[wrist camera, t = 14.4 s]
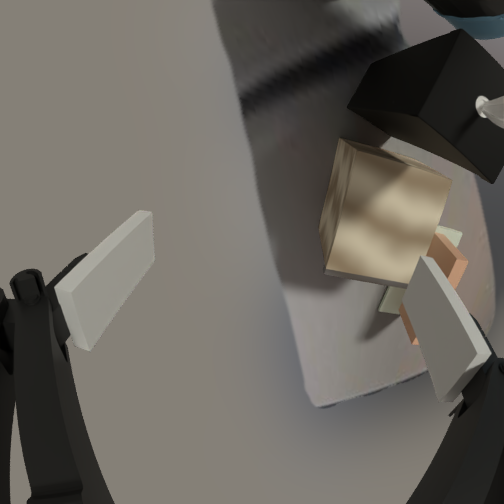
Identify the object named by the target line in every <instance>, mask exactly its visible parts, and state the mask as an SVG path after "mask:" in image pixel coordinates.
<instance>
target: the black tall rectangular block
mask: <svg viewBox="0 0 504 504" xmlns="http://www.w3.org/2000/svg"><path fill="white" fill-rule="evenodd" d="M347 108H348V109H350V110H352V111H353V112H355V113H356V114H358V115H360V116H361V117H363V118H364V119H366V120H368V121H369V122H371V123H372V124H374V125H375V126H377V127H378V128H380V129H381V130H383V131H384V132H386V133H387V134H389V135H390V136H392V137H394V138H397V139H399V140H402V141H405V142H407V143H410V144H412V145H414V146H417V147H419V148H422V149H424V150H426V151H429V152H431V153H433V154H435V155H438V156H440V157H442V158H444V159H446V160H449V161H451V162H453V163H455V164H457V165H459V166H461V167H463V168H465V169H467V170H469V171H471V172H473V173H475V174H477V175H479V176H480V177H481V178H482V179H484V180H486V181H487V182H489V183H491V184H493V183H494V182H495V180H496V179H497V177H498V175H499V173H500V171H501V169H502V168H503V166H504V69H503V68H502V67H501V65H500V64H498V62H497V61H496V60H495V59H494V58H493V57H492V56H491V55H490V54H489V53H488V52H487V51H486V50H485V49H484V48H483V47H482V46H481V45H480V44H479V43H478V42H477V41H476V40H475V39H474V38H473V37H471V36H470V35H469V34H468V33H467V32H466V31H465V30H464V29H461V28H460V29H457V30H454V31H451V32H450V33H448V34H445V35H442V36H439V37H436V38H433V39H431V40H428V41H425V42H423V43H420V44H417V45H415V46H412V47H410V48H407V49H405V50H402V51H400V52H397V53H395V54H393V55H390V56H388V57H386V58H383V59H381V60H379V61H376V62H374V63H372V64H371V65H370V67H369V69H368V70H367V72H366V74H365V76H364V78H363V79H362V81H361V83H360V85H359V87H358V88H357V90H356V92H355V94H354V95H353V97H352V99H351V101H350V103H349V104H348V106H347Z"/></svg>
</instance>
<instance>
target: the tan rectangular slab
mask: <svg viewBox="0 0 504 504" xmlns="http://www.w3.org/2000/svg"><path fill="white" fill-rule="evenodd" d="M426 256H427V257H432V258H433V259H434V260H435V262H436V263H437V265H438V266H439V268H440V269H441V270H442V272H443V273H444V275H445V276H446V278H447V279H448V281H449V282H450V284H451V285H452V287H453V288H454V290H455V289H456V287H457V285H458V283H459V281H460V279H461V277H462V275H463V273H464V271H465V269H466V266H467V264H468V260H467V259H466V258H465V257H464V256H463V255H462V254H461V252H460V251H459V250H458V249H457V248H456V247H455V246H454V245H453V244H452V243H451V241H450V240H449V239H448V238H447V237H446V236H445V235H444V234H440V233H437V232H435V234H434V236H433V239H432V242H431V244H430V247H429V249H428V252H427V254H426ZM399 313H400V315H401V317H402V320H403V323H404V325H405V328H406V330H407V333H408V335H409V338H410V341H411V344H414V345H419V343H418V340H417V337H416V335H415V332H414V329H413V327H412V324H411V322H410V319H409V317H408V314H407V312H406V310H405V307H404V305H403V302H402V304H401V306H400V308H399Z"/></svg>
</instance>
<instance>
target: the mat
mask: <svg viewBox="0 0 504 504" xmlns="http://www.w3.org/2000/svg"><path fill="white" fill-rule="evenodd" d="M435 232H437V233H440V234H444V235H445V236H446V237H447V238H448V239H449V240H450V241H451V243H452V244H453V245H454V246H455V247H456V248H457V246H458V244H459V241H460V239H461V236H462V233H461V232H460V231H457V230H453V229H450V228H447V227H443V226H440V225H438V226H437V228H436V231H435ZM405 291H406V289H403V288H398V287H392V286H388V288H387V290H386V293H385V295H384V297H383V299H382V302H381V304H380V306H379V308H378V310H379V312H386V313H393V314H400V313H399V308H400V306H401V304H402V298H403V296H404V294H405Z"/></svg>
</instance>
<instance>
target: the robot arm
mask: <svg viewBox="0 0 504 504" xmlns="http://www.w3.org/2000/svg"><path fill="white" fill-rule="evenodd" d="M424 1H425V2H427V3H428V4H429V5H430V6H431V7H432V8H433V10H434V11H435V12H436V13H437V14H438V15H440V16H442V17H444V18H445V19H446V20H447V21H448V22H449V23H451V24H452V25H453V26H454V27H455V28H456V29H460V28H461V29H464V30H465V31H466V32H467V33H468V34H469V35H470V36H471V37H473V38H474V39H480V40H488V39H495V38H500V37H504V0H424ZM154 261H155V256H154V238H153V212H149V211H142V210H138V211H137V212H136V213H134V214H133V215H132V216H131V217H130V218H129V219H127V220H126V221H125V222H124V223H123V224H122V225H120V226H119V227H118V228H117V229H116V230H115V231H113V232H112V233H111V234H110V235H109V236H108V237H107V238H105V239H104V240H103V241H102V242H101V243H100V244H99V245H98V246H97V247H96V248H94V249H93V250H92V251H91V252H90V253H89V254H87V253H85V254H83V255H81V256H79V257H77V258H75V259H74V260H73V261H72V262H71V263H70V264H69V265H68V267H67V266H66V267H65V268H64V269H63V270H62V272H60V273H59V274H58V275H57V276H56V277H55V278H54V279H53V280H52V281H51V282H50V283H49V284H48V285H47V286H46V287H45V284H44V280H43V277H42V273H41V272H40V271H39V270H37V269H26V270H23V271H21V272H19V273H17V274H16V275H15V276H14V277H13V278H12V279H11V281H10V286H11V289H12V292H13V295H14V297H15V299H6V296H5V294H4V291H3V289H1V288H0V504H11V503H10V448H11V435H12V424H13V415H14V407H15V401H16V409H17V417H18V426H19V434H20V440H21V446H22V452H23V457H24V462H25V466H26V471H27V475H28V479H29V483H30V487H31V492H32V493H31V497H30V498H29V499H28V500H27V504H115V503H114V501H113V499H112V497H111V495H110V493H109V490H108V488H107V485H106V483H105V480H104V478H103V476H102V473H101V470H100V468H99V465H98V462H97V460H96V457H95V454H94V451H93V449H92V445H91V442H90V439H89V436H88V433H87V430H86V426H85V423H84V419H83V416H82V412H81V408H80V404H79V400H78V396H77V392H76V388H75V383H74V379H73V375H72V369H71V364H70V358H69V353H68V347H67V345H66V343H65V342H66V340H67V339H68V337H69V336H71V338H72V341H73V344H74V346H75V347H79V348H81V349H83V350H86V351H89V352H90V351H91V350H92V349H93V347H94V346H95V344H96V343H97V341H98V340H99V338H100V336H101V335H102V334H103V332H104V331H105V329H106V328H107V326H108V325H109V324H110V322H111V320H112V319H113V318H114V316H115V315H116V314H117V312H118V311H119V309H120V308H121V306H122V305H123V304H124V302H125V301H126V299H127V298H128V297H129V295H130V294H131V292H132V291H133V290H134V288H135V287H136V286H137V284H138V283H139V282H140V280H141V279H142V277H143V276H144V275H145V273H146V272H147V271H148V269H149V268H150V267H151V265H152V264H153V263H154ZM402 302H403V305H404V307H405V310H406V312H407V314H408V317H409V319H410V322H411V324H412V327H413V329H414V332H415V335H416V337H417V340H418V343H419V345H420V348H421V351H422V353H423V356H424V359H425V362H426V365H427V368H428V371H429V374H430V377H431V380H432V383H433V386H434V389H435V392H436V395H437V399H438V402H439V403H442V402H453V401H454V400H455V399H456V398H457V396H458V395H459V394H460V393H461V392H462V395H463V397H464V399H463V400H462V401H461V402H460V403H459V404H458V405H457V406H456V407H455V409H454V410H453V411H452V412H451V413H450V414H449V416H452V414H453V413H455V415H454V417H453V419H452V422H451V424H450V426H449V428H448V431H447V433H446V435H445V437H444V439H443V441H442V443H441V445H440V447H439V449H438V451H437V453H436V455H435V456H434V458H433V460H432V462H431V464H430V466H429V467H428V469H427V471H426V473H425V474H424V476H423V478H422V480H421V481H420V483H419V484H418V486H417V488H416V489H415V491H414V492H413V494H412V495H411V497H410V498H409V500H408V501H407V503H406V504H504V358H497V356H496V354H495V352H494V350H493V348H492V346H491V344H490V343H489V341H488V339H487V337H485V334H484V332H483V330H481V329H482V328H481V327H480V325H479V323H478V321H477V320H476V319H475V318H474V317H473V316H472V315H471V314H470V313H469V312H468V311H467V309H466V307H465V306H464V304H463V302H462V301H461V299H460V298H459V296H458V295H457V293H456V291H455V290H454V288H453V287H452V285H451V284H450V282H449V281H448V279H447V278H446V276H445V275H444V273H443V272H442V270H441V269H440V268H439V266H438V265H437V263H436V262H435V260H434V259H433V258H432V257H427V256H421V255H420V257H419V260H418V263H417V265H416V268H415V270H414V272H413V275H412V277H411V280H410V282H409V284H408V287H407V289H406V291H405V294H404V296H403V298H402Z"/></svg>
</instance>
